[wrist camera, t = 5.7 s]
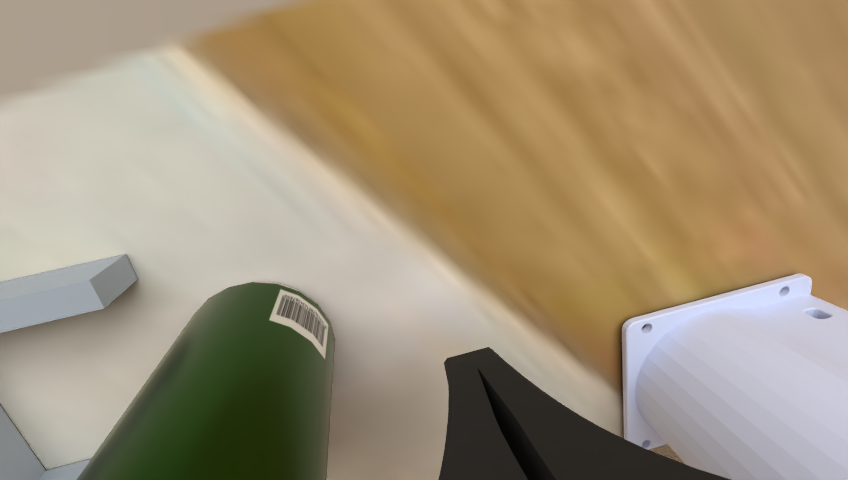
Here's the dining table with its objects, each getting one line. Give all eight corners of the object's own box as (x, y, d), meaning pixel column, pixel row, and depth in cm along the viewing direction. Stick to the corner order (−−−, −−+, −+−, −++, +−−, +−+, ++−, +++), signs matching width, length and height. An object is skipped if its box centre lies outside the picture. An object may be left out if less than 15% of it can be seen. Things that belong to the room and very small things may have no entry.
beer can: (235, 248, 15) (-80, 671, 4) (361, 314, 17) (382, 740, 6) (167, 358, 16) (-242, 949, 5) (292, 410, 18) (197, 937, 7)
